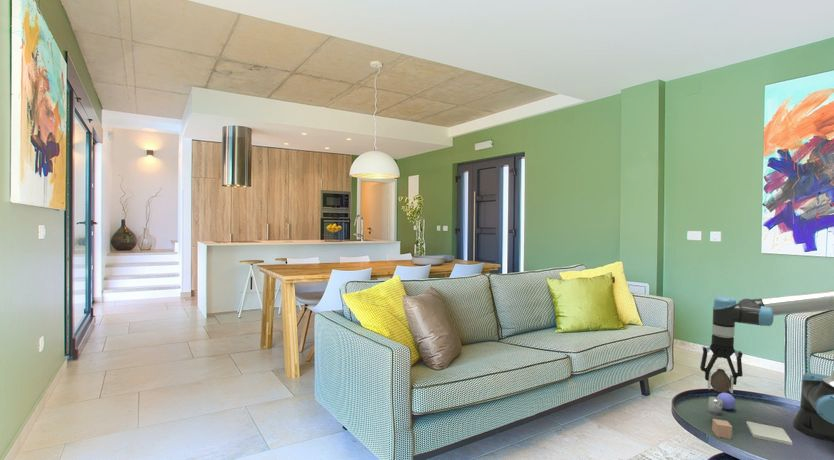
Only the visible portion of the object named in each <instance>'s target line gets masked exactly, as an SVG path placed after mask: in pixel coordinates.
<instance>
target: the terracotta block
mask: <svg viewBox="0 0 834 460" xmlns="http://www.w3.org/2000/svg"><path fill="white" fill-rule="evenodd" d="M712 431H713V432H714V433H715V434H716V436H719V437H718V438H720V437H722V438H721V439H728V440H731V439H732V434H733V426H732V425H731V424H730V422H729V421H728V420H724V419H717V418H712V424H711V432H712ZM713 432H712V433H713ZM714 433H713V434H714ZM715 434H714V435H715ZM716 436H715V437H716Z"/></svg>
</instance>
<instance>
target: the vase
mask: <svg viewBox="0 0 834 460" xmlns="http://www.w3.org/2000/svg"><path fill="white" fill-rule="evenodd" d="M730 384H731V382H730V376H729V375H728V374H727V373H726V370H724V369H722V368H717V369H716V371H714V372H713V373H711V388H712V389H713V390H714V391H716V392H719V393H728V391H729V388H730Z"/></svg>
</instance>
